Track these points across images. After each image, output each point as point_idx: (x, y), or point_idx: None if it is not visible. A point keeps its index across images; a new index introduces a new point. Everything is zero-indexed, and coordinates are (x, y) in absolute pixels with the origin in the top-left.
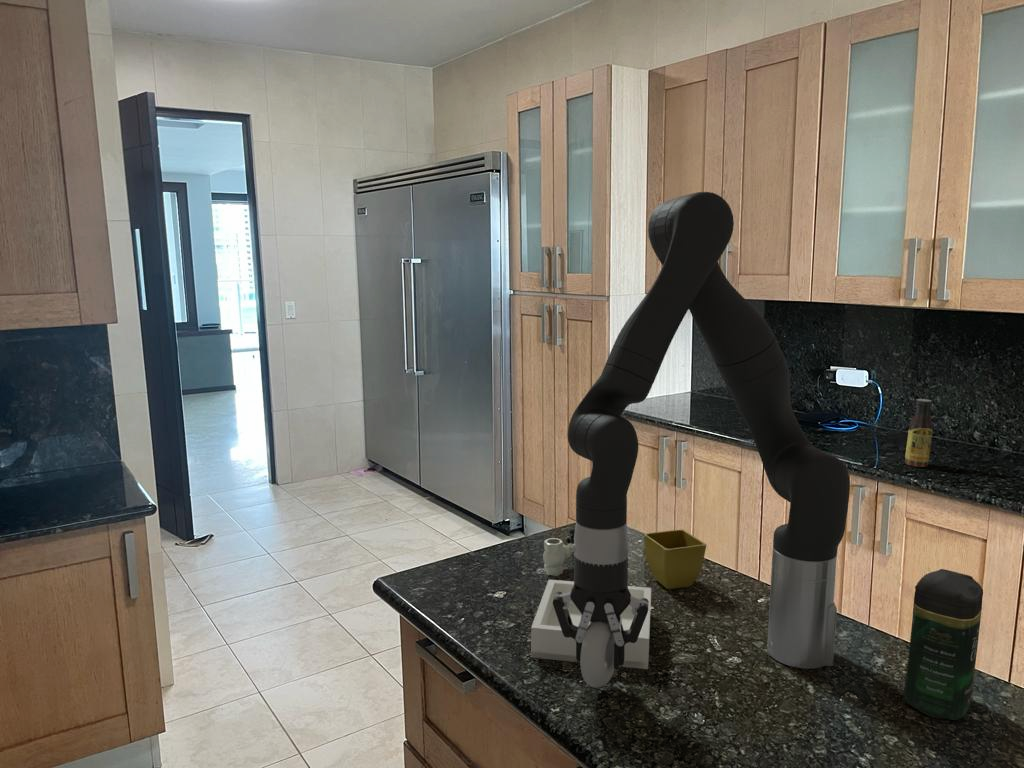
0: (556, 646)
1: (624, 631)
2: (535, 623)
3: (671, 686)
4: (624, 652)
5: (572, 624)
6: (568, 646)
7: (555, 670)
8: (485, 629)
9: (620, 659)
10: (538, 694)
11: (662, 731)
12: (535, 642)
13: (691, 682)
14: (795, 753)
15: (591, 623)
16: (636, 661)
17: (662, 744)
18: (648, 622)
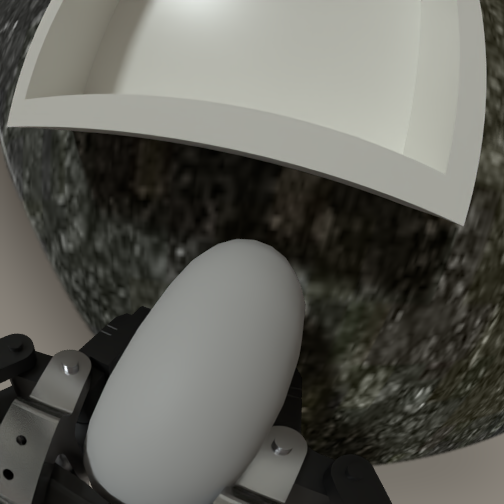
0: (97, 131)
1: (293, 488)
2: (17, 96)
3: (431, 299)
4: (300, 397)
5: (20, 369)
6: (127, 134)
7: (118, 192)
8: (28, 42)
9: None
10: (91, 297)
11: (333, 432)
12: (48, 128)
13: (477, 282)
14: (472, 439)
15: (92, 487)
16: (379, 195)
17: (318, 451)
18: (482, 78)
